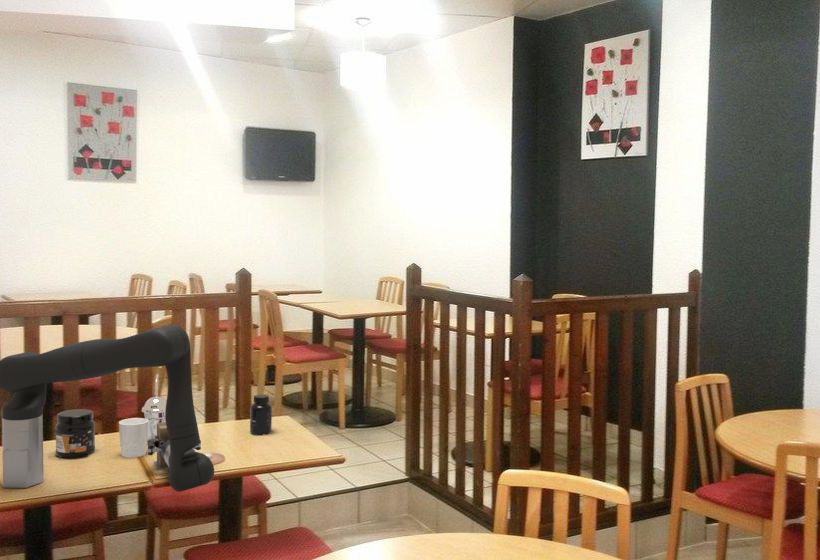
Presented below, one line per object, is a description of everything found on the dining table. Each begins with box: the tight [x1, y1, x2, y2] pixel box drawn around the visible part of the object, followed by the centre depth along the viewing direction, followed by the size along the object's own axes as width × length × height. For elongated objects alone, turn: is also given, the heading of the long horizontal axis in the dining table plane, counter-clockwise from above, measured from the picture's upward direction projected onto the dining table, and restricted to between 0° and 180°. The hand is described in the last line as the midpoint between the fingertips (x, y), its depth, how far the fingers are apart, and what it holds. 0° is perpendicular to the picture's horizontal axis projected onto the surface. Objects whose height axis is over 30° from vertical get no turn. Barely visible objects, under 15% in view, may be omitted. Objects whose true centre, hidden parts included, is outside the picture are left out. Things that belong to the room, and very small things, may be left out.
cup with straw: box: [141, 373, 167, 441], centre depth 237 cm, size 8×9×20 cm
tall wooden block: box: [156, 422, 169, 469], centre depth 214 cm, size 6×6×11 cm
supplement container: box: [54, 408, 96, 459], centre depth 223 cm, size 10×10×12 cm
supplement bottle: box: [249, 394, 273, 436], centre depth 249 cm, size 7×7×12 cm
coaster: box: [152, 460, 169, 471], centre depth 214 cm, size 8×8×1 cm
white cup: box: [118, 417, 148, 459], centre depth 222 cm, size 8×8×10 cm
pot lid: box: [201, 452, 226, 466], centre depth 218 cm, size 10×10×2 cm
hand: (169, 438), depth 216 cm, fingers closed on tall wooden block, 6 cm apart
